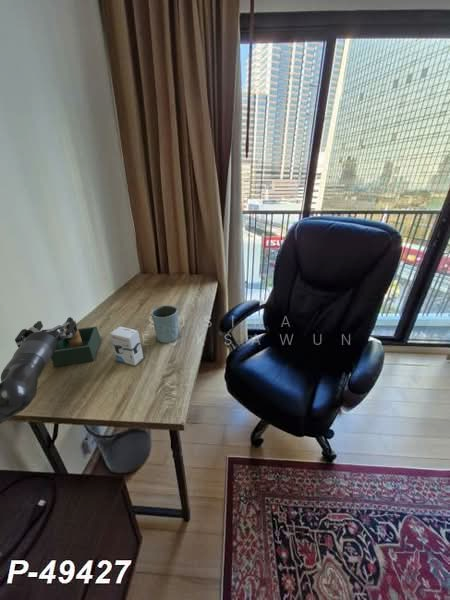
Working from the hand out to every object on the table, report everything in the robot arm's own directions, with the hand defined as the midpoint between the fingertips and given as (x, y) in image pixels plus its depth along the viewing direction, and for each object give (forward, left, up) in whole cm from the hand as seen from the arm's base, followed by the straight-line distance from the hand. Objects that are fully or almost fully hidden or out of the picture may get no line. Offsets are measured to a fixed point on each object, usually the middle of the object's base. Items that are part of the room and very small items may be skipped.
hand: (55, 321), depth 79 cm
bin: (0, +8, -18) cm, 20 cm away
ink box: (+19, -1, -19) cm, 27 cm away
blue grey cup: (+33, +10, -19) cm, 39 cm away
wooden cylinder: (0, +8, -18) cm, 19 cm away
